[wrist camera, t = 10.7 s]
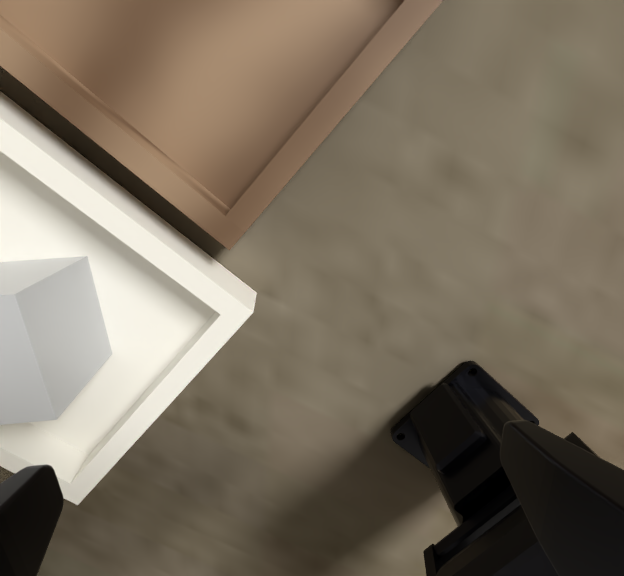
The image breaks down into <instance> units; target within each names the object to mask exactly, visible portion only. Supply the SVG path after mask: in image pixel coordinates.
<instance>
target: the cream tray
mask: <svg viewBox="0 0 624 576" xmlns="http://www.w3.org/2000/svg"><path fill="white" fill-rule="evenodd" d="M81 256H87V257H88V261H89V264H90V268H91V272H92V276H93V280H94V284H95V288H96V292H97V296H98V299H99V303H100V307H101V311H102V315H103V319H104V323H105V327H106V331H107V334H108V338H109V342H110V346H111V350H112V355H111V356H110V357H109V359H108V360H107V361H106V362H105V363H104V364H103V366H102V367H101V368H100V369H99V370H98V372H97V373H96V374H95V375H94V376H93V377H92V379H91V380H90V381H89V382H88V383H87V385H86V386H85V387H84V388H83V389H82V391H81V392H80V393H79V394H78V395H77V396H76V398H75V399H74V400H73V401H72V402H71V404H70V405H69V406H68V407H67V408H66V410H65V411H64V412H63V413H62V414H61V415H60V417H59V418H58V419H57V420H49V421H38V422H27V423H16V424H5V425H0V466H1V467H3V468H5V469H7V470H9V471H11V472H13V473H17V472H18V471H20V470H21V469H23V468H25V467H28V466H34V465H45V464H47V465H50V466H52V467H53V469H54V471H55V474H56V476H57V479H58V482H59V485H60V488H61V491H62V494H63V498H64V499H66V500H68V501H70V502H72V503H74V504H76V505H78V504H79V503H80V502H81V501H82V500H83V499H84V498H85V497H86V496H87V494H88V493H89V492H90V491H91V490H92V489H93V488H94V487H95V486H96V485H97V484H98V482H99V481H100V480H101V479H102V478H103V477H104V476H105V475H106V474H107V473H108V471H109V470H110V469H111V468H112V467H113V466H114V465H115V464H116V463H117V462H118V460H119V459H120V458H121V457H122V456H123V455H124V454H125V453H126V452H127V451H128V449H129V448H130V447H131V446H132V445H133V444H134V443H135V442H136V441H137V440H138V438H139V437H140V436H141V435H142V434H143V433H144V432H145V431H146V430H147V429H148V428H149V426H150V425H151V424H152V423H153V422H154V421H155V420H156V419H157V418H158V417H159V415H160V414H161V413H162V412H163V411H164V410H165V409H166V408H167V407H168V406H169V404H170V403H171V402H172V401H173V400H174V399H175V398H176V397H177V396H178V395H179V393H180V392H181V391H182V390H183V389H184V388H185V387H186V386H187V385H188V384H189V382H190V381H191V380H192V379H193V378H194V377H195V376H196V375H197V374H198V373H199V372H200V370H201V369H202V368H203V367H204V366H205V365H206V364H207V363H208V362H209V361H210V359H211V358H212V357H213V356H214V355H215V354H216V353H217V352H218V351H219V350H220V348H221V347H222V346H223V345H224V344H225V343H226V342H227V341H228V340H229V339H230V337H231V336H232V335H233V334H234V333H235V332H236V331H237V330H238V329H239V328H240V326H241V325H242V324H243V323H244V322H245V321H246V320H247V319H248V318H249V317H250V315H251V314H252V313H253V312H254V306H255V300H256V295H257V293H256V292H255V291H254V290H253V289H251V288H250V287H249V286H248V285H246V284H245V283H244V282H242V281H241V280H240V279H239V278H237V277H236V276H235V275H234V274H232V273H231V272H230V271H229V270H227V269H226V268H225V267H223V266H222V265H221V264H220V263H218V262H217V261H216V260H215V259H213V258H212V257H211V256H209V255H208V254H207V253H206V252H204V251H203V250H202V249H201V248H199V247H198V246H197V245H195V244H194V243H193V242H192V241H190V240H189V239H188V238H187V237H185V236H184V235H183V234H181V233H180V232H179V231H178V230H176V229H175V228H174V227H173V226H171V225H170V224H169V223H168V222H166V221H165V220H164V219H162V218H161V217H160V216H159V215H157V214H156V213H155V212H154V211H152V210H151V209H150V208H148V207H147V206H146V205H145V204H143V203H142V202H141V201H140V200H138V199H137V198H136V197H134V196H133V195H132V194H131V193H129V192H128V191H127V190H126V189H124V188H123V187H122V186H121V185H119V184H118V183H117V182H115V181H114V180H113V179H112V178H110V177H109V176H108V175H107V174H105V173H104V172H103V171H101V170H100V169H99V168H98V167H96V166H95V165H94V164H93V163H91V162H90V161H89V160H87V159H86V158H85V157H84V156H82V155H81V154H80V153H79V152H77V151H76V150H75V149H74V148H72V147H71V146H70V145H68V144H67V143H66V142H65V141H63V140H62V139H61V138H60V137H58V136H57V135H56V134H54V133H53V132H52V131H51V130H49V129H48V128H47V127H46V126H44V125H43V124H42V123H40V122H39V121H38V120H37V119H35V118H34V117H33V116H32V115H30V114H29V113H28V112H27V111H25V110H24V109H23V108H21V107H20V106H19V105H18V104H16V103H15V102H14V101H13V100H11V99H10V98H9V97H7V96H6V95H5V94H4V93H2V92H1V91H0V262H8V261H23V260H37V259H52V258H66V257H81Z"/></svg>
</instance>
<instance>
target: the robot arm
mask: <svg viewBox="0 0 624 576" xmlns="http://www.w3.org/2000/svg"><path fill="white" fill-rule="evenodd" d="M473 368H474V369H473ZM470 369H473V371H472V372H469V370H470ZM468 372H469V373H468ZM538 425H539V420H538V419H537V418H536V417H535V416H534V415H533V414H532V413H531V412H530V411H529V410H528V409H527V408H526V407H525V406H523V405H522V404H521V403H520V402H519V401H518V400H517V399H516V398H515V397H513V396H512V395H511V394H510V393H509V392H508V391H507V390H506V389H505V388H504V387H502V386H501V385H500V384H499V383H498V382H497V381H496V380H495V379H494V378H493V377H491V376H490V375H489V374H488V373H487V372H486V371H485V370H484V369H483V368H482V367H480V366H479V365H478V364H477V363H476V362H474V361H467V362H465V363H464V364H463V365H462V366H460V367H459V368H458V369H457V370H456V371H455V372H454V373H453V374H452V375H451V376H449V377H448V378H447V379H446V380H445V381H444V382H443V383H442V384H441V385H439V386H438V387H437V388H436V389H435V390H434V391H433V392H432V393H431V394H430V395H428V396H427V397H426V398H425V399H424V400H423V401H422V402H421V403H420V404H418V405H417V406H416V407H415V408H414V409H413V410H412V411H411V412H410V413H408V414H407V415H406V416H405V417H404V418H403V419H402V420H401V421H400V422H399V423H397V424H396V425H395V426H394V427H393V428H392V429H391V432H390V433H391V437H392V439H393V441H394V442H395V443H396V444H398V445H399V446H401V447H402V448H403V449H405V450H406V451H407V452H409V453H410V454H411V455H413V456H414V457H415V458H417V459H418V460H419V461H421V462H422V463H423V464H425V465H426V466H427V467H429V468H430V469H431V471H432V473H433V475H434V477H435V480H436V482H437V484H438V486H439V488H440V490H441V492H442V494H443V496H444V498H445V501H446V503H447V505H448V507H449V509H450V511H451V513H452V515H453V517H454V519H455V522H456V524H457V526H458V527H457V528H456V529H454V530H453V531H452V532H451V533H449V534H448V535H447V536H446V537H444V538H443V539H442V540H441V541H439V542H438V543H437V544H436V545H434V544H432V545H430V546H429V547H428V548H427V549H425V550H424V560H425V567H426V575H427V576H624V470H623V469H621V468H619V467H617V466H615V465H613V464H611V463H609V462H607V461H605V460H603V459H601V458H600V457H599V456H598V455H597V454H596V453H595V452H594V451H592V450H591V449H590V448H589V447H588V446H587V445H586V444H585V443H584V442H583V441H582V440H581V439H580V438H578V437H577V436H576V435H575V434H574V433H573V432H572V433H571V434H569V435H568V436H567V437H566V438H564V439H563V438H561V437H559V436H557V435H555V434H553V433H551V432H549V431H547V430H545V429H543V428H541V427H539V426H538ZM399 433H402V434H401V435H398V434H399ZM63 501H64V500H63V494H62V491H61V488H60V485H59V482H58V479H57V476H56V474H55V471H54V469H53V467H52V466H50V465H47V464H45V465H34V466H28V467H25V468H23V469H21V470H20V471H18V472H17V473H15V474H14V475H12V476H11V477H9V478H8V479H6V480H5V481H3V482H2V483H0V576H37V574H38V571H39V568H40V566H41V563H42V561H43V558H44V555H45V553H46V550H47V548H48V545H49V542H50V540H51V537H52V535H53V532H54V529H55V527H56V524H57V522H58V519H59V516H60V514H61V511H62V508H63Z"/></svg>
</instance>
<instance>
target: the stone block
mask: <svg viewBox="0 0 624 576" xmlns="http://www.w3.org/2000/svg"><path fill="white" fill-rule="evenodd" d="M111 355H112V350H111V346H110V342H109V338H108V334H107V331H106V327H105V323H104V319H103V315H102V311H101V307H100V303H99V299H98V296H97V292H96V288H95V284H94V280H93V276H92V272H91V268H90V264H89V261H88V257H87V256H81V257H66V258H52V259H37V260H23V261H8V262H0V425H5V424H16V423H27V422H38V421H49V420H57V419H58V418H59V417H60V415H61V414H62V413H63V412H64V411H65V410H66V408H67V407H68V406H69V405H70V404H71V402H72V401H73V400H74V399H75V398H76V396H77V395H78V394H79V393H80V392H81V391H82V389H83V388H84V387H85V386H86V385H87V383H88V382H89V381H90V380H91V379H92V377H93V376H94V375H95V374H96V373H97V372H98V370H99V369H100V368H101V367H102V366H103V364H104V363H105V362H106V361H107V360H108V359H109V357H110V356H111Z"/></svg>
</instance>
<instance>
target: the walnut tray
mask: <svg viewBox="0 0 624 576" xmlns="http://www.w3.org/2000/svg"><path fill="white" fill-rule="evenodd" d="M442 1H443V0H0V66H1V67H2V68H4V69H5V70H6V71H7V72H9V73H10V74H11V75H12V76H14V77H15V78H16V79H17V80H19V81H20V82H21V83H22V84H24V85H25V86H26V87H27V88H29V89H30V90H31V91H32V92H33V93H35V94H36V95H37V96H38V97H40V98H41V99H42V100H43V101H45V102H46V103H47V104H48V105H50V106H51V107H52V108H53V109H55V110H56V111H57V112H58V113H60V114H61V115H62V116H63V117H65V118H66V119H67V120H68V121H69V122H71V123H72V124H73V125H74V126H76V127H77V128H78V129H79V130H81V131H82V132H83V133H84V134H86V135H87V136H88V137H89V138H91V139H92V140H93V141H94V142H96V143H97V144H98V145H99V146H100V147H102V148H103V149H104V150H105V151H107V152H108V153H109V154H110V155H112V156H113V157H114V158H115V159H117V160H118V161H119V162H120V163H122V164H123V165H124V166H125V167H127V168H128V169H129V170H130V171H132V172H133V173H134V174H135V175H136V176H138V177H139V178H140V179H141V180H143V181H144V182H145V183H146V184H148V185H149V186H150V187H151V188H153V189H154V190H155V191H156V192H158V193H159V194H160V195H161V196H163V197H164V198H165V199H166V200H167V201H169V202H170V203H171V204H172V205H174V206H175V207H176V208H177V209H179V210H180V211H181V212H182V213H184V214H185V215H186V216H187V217H189V218H190V219H191V220H192V221H194V222H195V223H196V224H197V225H198V226H200V227H201V228H202V229H203V230H205V231H206V232H207V233H208V234H210V235H211V236H212V237H213V238H215V239H216V240H217V241H218V242H220V243H221V244H222V245H223V246H225V247H226V248H227V249H228V250H230V249H231V248H232V247H233V246H234V245H235V243H236V242H237V241H238V240H239V239H240V238H241V236H242V235H243V234H244V233H245V232H246V230H247V229H248V228H249V227H250V226H251V225H252V223H253V222H254V221H255V220H256V219H257V218H258V216H259V215H260V214H261V213H262V212H263V211H264V209H265V208H266V207H267V206H268V205H269V204H270V202H271V201H272V200H273V199H274V198H275V197H276V195H277V194H278V193H279V192H280V191H281V190H282V188H283V187H284V186H285V185H286V184H287V183H288V181H289V180H290V179H291V178H292V177H293V175H294V174H295V173H296V172H297V171H298V170H299V168H300V167H301V166H302V165H303V164H304V163H305V161H306V160H307V159H308V158H309V157H310V156H311V154H312V153H313V152H314V151H315V150H316V149H317V147H318V146H319V145H320V144H321V143H322V142H323V140H324V139H325V138H326V137H327V136H328V135H329V133H330V132H331V131H332V130H333V129H334V128H335V126H336V125H337V124H338V123H339V122H340V120H341V119H342V118H343V117H344V116H345V115H346V113H347V112H348V111H349V110H350V109H351V108H352V106H353V105H354V104H355V103H356V102H357V101H358V99H359V98H360V97H361V96H362V95H363V94H364V92H365V91H366V90H367V89H368V88H369V87H370V85H371V84H372V83H373V82H374V81H375V80H376V78H377V77H378V76H379V75H380V74H381V73H382V71H383V70H384V69H385V68H386V67H387V65H388V64H389V63H390V62H391V61H392V60H393V58H394V57H395V56H396V55H397V54H398V53H399V51H400V50H401V49H402V48H403V47H404V46H405V44H406V43H407V42H408V41H409V40H410V39H411V37H412V36H413V35H414V34H415V33H416V32H417V30H418V29H419V28H420V27H421V26H422V25H423V23H424V22H425V21H426V20H427V19H428V18H429V16H430V15H431V14H432V13H433V12H434V10H435V9H436V8H437V7H438V6H439V5H440V3H441V2H442Z"/></svg>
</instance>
